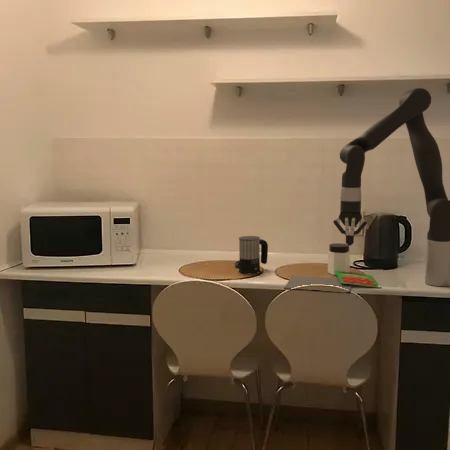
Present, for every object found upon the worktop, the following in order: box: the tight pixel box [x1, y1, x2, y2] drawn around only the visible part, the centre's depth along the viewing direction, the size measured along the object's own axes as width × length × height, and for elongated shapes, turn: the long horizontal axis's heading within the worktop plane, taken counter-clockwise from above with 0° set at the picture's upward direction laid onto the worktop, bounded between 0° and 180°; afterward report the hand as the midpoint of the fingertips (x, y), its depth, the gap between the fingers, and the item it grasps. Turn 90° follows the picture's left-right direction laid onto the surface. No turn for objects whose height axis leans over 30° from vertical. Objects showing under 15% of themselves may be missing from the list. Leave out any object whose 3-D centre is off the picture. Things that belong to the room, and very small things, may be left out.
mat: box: [283, 275, 352, 291], centre depth 226 cm, size 24×20×1 cm
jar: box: [327, 242, 351, 276], centre depth 244 cm, size 9×8×12 cm
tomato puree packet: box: [335, 271, 381, 289], centre depth 230 cm, size 15×1×20 cm
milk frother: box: [234, 235, 269, 274], centre depth 251 cm, size 14×16×15 cm
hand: (349, 245), depth 221 cm, fingers closed
